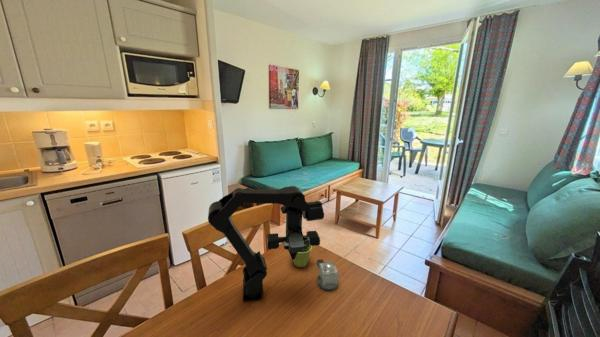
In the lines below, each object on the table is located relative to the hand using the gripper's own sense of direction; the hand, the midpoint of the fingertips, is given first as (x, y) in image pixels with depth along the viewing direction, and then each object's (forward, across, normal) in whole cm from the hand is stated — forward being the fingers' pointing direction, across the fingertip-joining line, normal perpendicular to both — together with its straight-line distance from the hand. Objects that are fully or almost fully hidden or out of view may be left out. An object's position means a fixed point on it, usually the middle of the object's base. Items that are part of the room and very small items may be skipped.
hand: (292, 259), depth 88 cm
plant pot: (+12, +6, +12) cm, 18 cm away
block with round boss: (+10, +14, -1) cm, 17 cm away
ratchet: (+12, +14, +3) cm, 19 cm away
